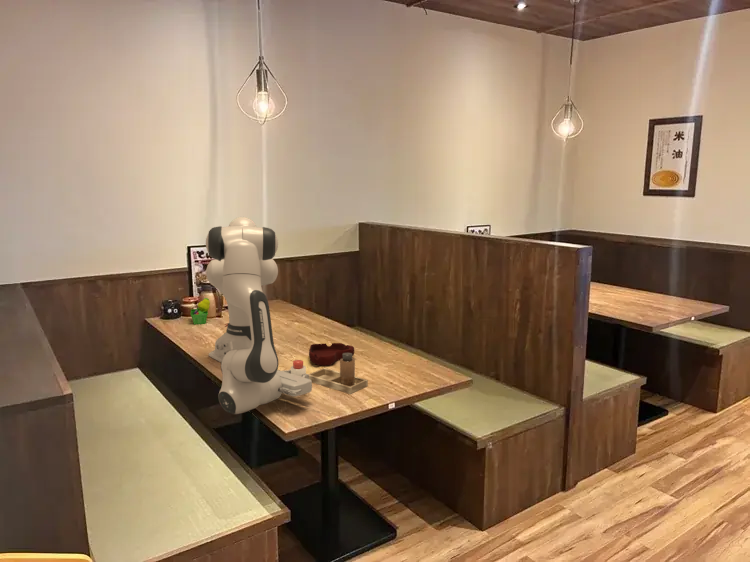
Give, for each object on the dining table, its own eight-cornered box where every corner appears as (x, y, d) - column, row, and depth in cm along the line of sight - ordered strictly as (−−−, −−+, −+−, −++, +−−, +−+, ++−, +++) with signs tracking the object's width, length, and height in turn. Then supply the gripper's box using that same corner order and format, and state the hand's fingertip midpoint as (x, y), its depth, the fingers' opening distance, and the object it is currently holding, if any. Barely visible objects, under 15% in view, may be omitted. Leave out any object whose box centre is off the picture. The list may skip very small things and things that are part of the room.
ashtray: (327, 350, 231) (327, 338, 230) (358, 359, 220) (358, 346, 220) (294, 361, 217) (294, 349, 216) (325, 371, 207) (325, 358, 206)
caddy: (306, 383, 195) (306, 374, 194) (324, 376, 202) (324, 367, 201) (350, 396, 183) (350, 387, 183) (367, 388, 190) (367, 379, 190)
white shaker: (288, 394, 185) (287, 361, 183) (298, 390, 189) (298, 358, 186) (298, 398, 182) (298, 365, 180) (309, 393, 186) (308, 361, 184)
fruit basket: (191, 319, 275) (189, 296, 273) (210, 318, 278) (209, 295, 276) (191, 325, 265) (189, 301, 263) (211, 324, 267) (210, 300, 265)
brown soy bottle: (337, 386, 189) (337, 354, 187) (346, 382, 193) (346, 350, 191) (348, 390, 186) (348, 357, 184) (357, 385, 190) (357, 353, 188)
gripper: (292, 384, 167) (324, 371, 178) (245, 369, 179) (277, 358, 190) (293, 405, 168) (324, 391, 179) (246, 388, 180) (278, 376, 191)
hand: (300, 374), depth 185 cm, fingers closed on white shaker, 5 cm apart
